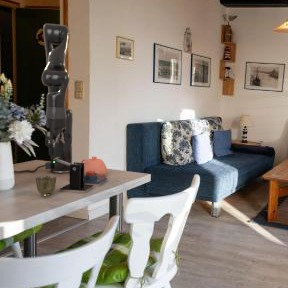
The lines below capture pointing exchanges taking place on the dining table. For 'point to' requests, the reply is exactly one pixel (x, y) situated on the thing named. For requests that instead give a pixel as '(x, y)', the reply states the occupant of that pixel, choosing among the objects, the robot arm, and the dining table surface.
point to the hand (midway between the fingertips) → (56, 153)
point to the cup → (45, 185)
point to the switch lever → (60, 161)
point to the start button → (90, 173)
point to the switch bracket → (76, 178)
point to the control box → (94, 179)
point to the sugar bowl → (95, 166)
